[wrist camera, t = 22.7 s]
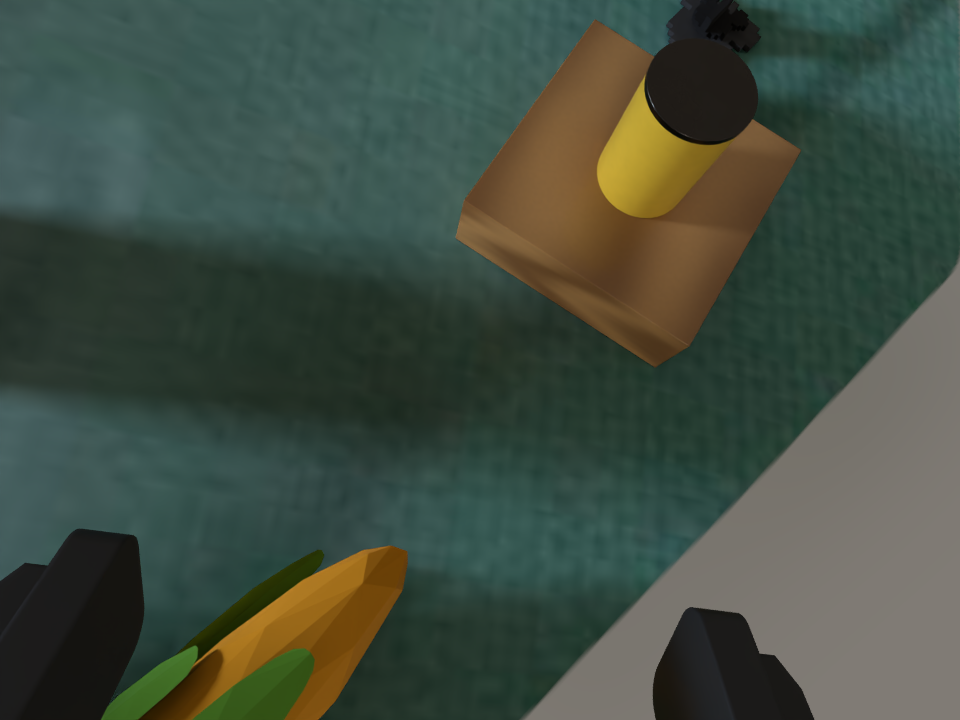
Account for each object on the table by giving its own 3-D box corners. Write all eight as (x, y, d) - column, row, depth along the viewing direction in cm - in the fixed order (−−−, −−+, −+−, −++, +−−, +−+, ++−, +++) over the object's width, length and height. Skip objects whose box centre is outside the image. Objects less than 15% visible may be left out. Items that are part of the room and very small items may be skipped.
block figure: (661, -1, 45) (713, -50, 47) (648, 25, 47) (698, -23, 49) (734, 60, 45) (783, 9, 46) (717, 83, 47) (765, 33, 48)
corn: (-78, 873, 26) (345, 484, 31) (19, 788, 33) (347, 486, 38) (61, 1027, 26) (463, 612, 30) (127, 908, 33) (442, 589, 38)
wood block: (455, 238, 42) (463, 200, 37) (573, 72, 46) (595, 18, 41) (655, 368, 42) (689, 346, 37) (758, 190, 45) (801, 149, 41)
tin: (576, 174, 39) (623, 85, 31) (635, 117, 40) (694, 17, 32) (647, 237, 38) (712, 163, 30) (704, 177, 39) (780, 91, 32)
